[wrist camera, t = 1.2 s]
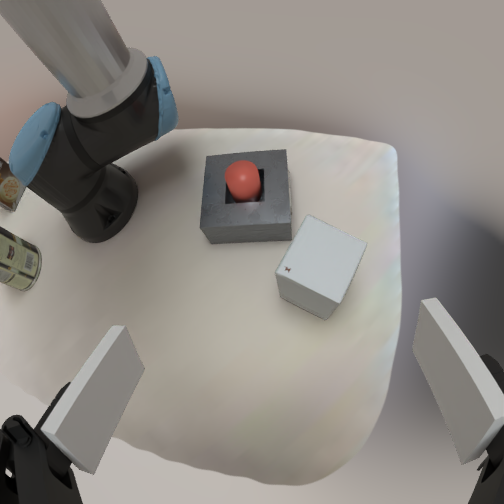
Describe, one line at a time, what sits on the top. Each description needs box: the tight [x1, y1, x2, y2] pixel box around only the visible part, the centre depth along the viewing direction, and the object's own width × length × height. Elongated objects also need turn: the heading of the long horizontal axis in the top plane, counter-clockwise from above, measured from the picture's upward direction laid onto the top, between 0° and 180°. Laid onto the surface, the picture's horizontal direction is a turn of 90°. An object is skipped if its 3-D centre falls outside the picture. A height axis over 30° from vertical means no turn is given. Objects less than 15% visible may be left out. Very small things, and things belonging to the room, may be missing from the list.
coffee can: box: [0, 227, 41, 291], centre depth 43 cm, size 10×10×14 cm
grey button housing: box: [200, 149, 292, 244], centre depth 44 cm, size 12×12×6 cm
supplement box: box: [275, 215, 367, 320], centre depth 35 cm, size 7×7×13 cm
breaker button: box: [225, 160, 262, 203], centre depth 40 cm, size 4×4×5 cm
